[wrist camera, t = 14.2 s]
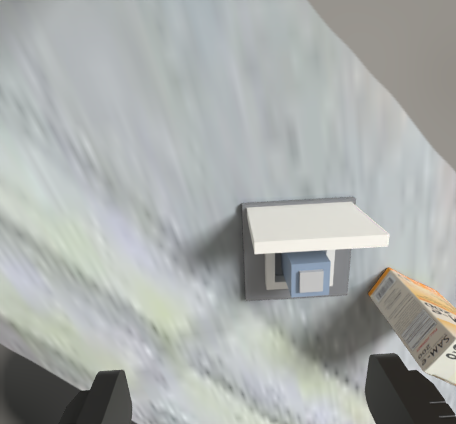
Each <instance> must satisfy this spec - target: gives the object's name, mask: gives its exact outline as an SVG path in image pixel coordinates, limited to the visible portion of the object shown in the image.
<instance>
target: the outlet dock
mask: <svg viewBox="0 0 456 424" xmlns="http://www.w3.org/2000/svg"><path fill="white" fill-rule="evenodd" d="M355 203H356V199H355V198H354V197H340V198H322V199H305V200H288V201H270V202H253V203H242V223H243V248H244V273H245V297H246V301H253V300H271V299H288V298H291V295H290V292H289V289H288V286H287V283H286V280H285V278H284V275H283V272H282V269H281V253H285V252H302V251H319V250H323V251H324V252H325V254H326V255H327V257H328V258H329V260H330V261H331V266H330V286H329V295H322V296H340V295H347V291H348V280H349V269H350V258H351V249H354V248H371V247H388V243H389V235H390V234H389V233H387V232H386V231H385V230H384V229H383V228H382V227H380V226H379V225H378V224H377V223H376V222H375V221H373V220H372V219H371V218H370V217H369V216H368V215H366V214H365V213H364V212H363V211H362V210H361V209H359V208H358V207H357V206H356V205H355ZM322 296H307V297H322ZM293 298H305V297H293Z"/></svg>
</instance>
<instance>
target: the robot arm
mask: <svg viewBox="0 0 456 424" xmlns="http://www.w3.org/2000/svg"><path fill="white" fill-rule="evenodd" d="M365 395H366V400H367V404H368V407H369V410H370V412H371V414H372V416H373V418H374V421H375V423H376V424H456V416H455V413H454V412H453V411H452V409H451V408H450V406H449V405H448V404H446V402H445V399H444V398H443V397H442V395H441V394H440V392H439V391H438V390H437V388H436V387H435V386H434V384H433V383H432V382H430V381H429V380H428V379H427V378H426V377H424V376H423V375H422V374H421V373H419V372H418V371H417V370H410V371H408V369H407V368H406V366H405V365H404V363H403V362H402V360H401V359H400V357H399V356H398V355H397V354H395V353H390V354H374V355H370V357H369V363H368V370H367V378H366V385H365ZM131 419H132V401H131V397H130V393H129V388H128V384H127V379H126V375H125V372H124V370H112V371H100V372H98V374H97V375H96V377H95V380H94V382H93V384H92V387H91V389H90V390H85V391H80V392H79V393H78V394H77V396H76V397H75V398H74V399H73V400H72V401H71V402H70V403H69V405H68V406H67V407H66V409H65V411H64V413H63V416H62V418H61V420H60V422H59V424H131Z"/></svg>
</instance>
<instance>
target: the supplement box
mask: <svg viewBox="0 0 456 424" xmlns="http://www.w3.org/2000/svg"><path fill="white" fill-rule="evenodd" d="M368 295H369V296H370V298H371V299H372V300H373V302H374V303H375V305H376V306H377V307H378V309H379V310H380V311H381V313H382V314H383V316H384V317H385V318H386V320H387V321H388V323H389V324H390V325H391V327H392V328H393V330H394V331H395V332H396V334H397V335H398V337H399V338H400V339H401V341H402V342H403V344H404V345H405V346H406V348H407V349H408V351H409V352H410V353H411V355H412V356H413V358H414V359H415V360H416V362H417V363H418V365H419V366H420V367H421V369H422V370H423V371H424V372H425V373H427V374H429V375H431V376H434V377H436V378H438V379H441V380H443V381H445V382H447V383H449V384H452V385H454V386H456V308H455V307H454V306H452V305H451V304H450V303H449V302H448V301H447V300H446V299H445V298H444V297H443V296H442V295H441V294H439V293H438V292H437V291H435V290H434V289H432V288H429V287H427V286H425V285H423V284H421V283H418V282H416V281H414V280H412V279H410V278H408V277H406V276H404V275H402V274H400V273H398V272H397V271H395V270H393V269H391V268H387V269H386V271H385V272H384V273H383V274H382V276H381V277H380V278H379V280H378V281H377V283H376V284H375V285H374V286H373V288H372V289H371V290H370V291H369V293H368Z"/></svg>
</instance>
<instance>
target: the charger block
mask: <svg viewBox="0 0 456 424" xmlns="http://www.w3.org/2000/svg"><path fill="white" fill-rule="evenodd" d="M330 266H331V261H330V260H329V258H328V257H327V255H326V254H325V252H324V251H323V250H319V251H302V252H285V253H281V269H282V272H283V275H284V278H285V280H286V283H287V286H288V289H289V292H290V295H291V298H293V297H307V296H322V295H329V286H330Z"/></svg>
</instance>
